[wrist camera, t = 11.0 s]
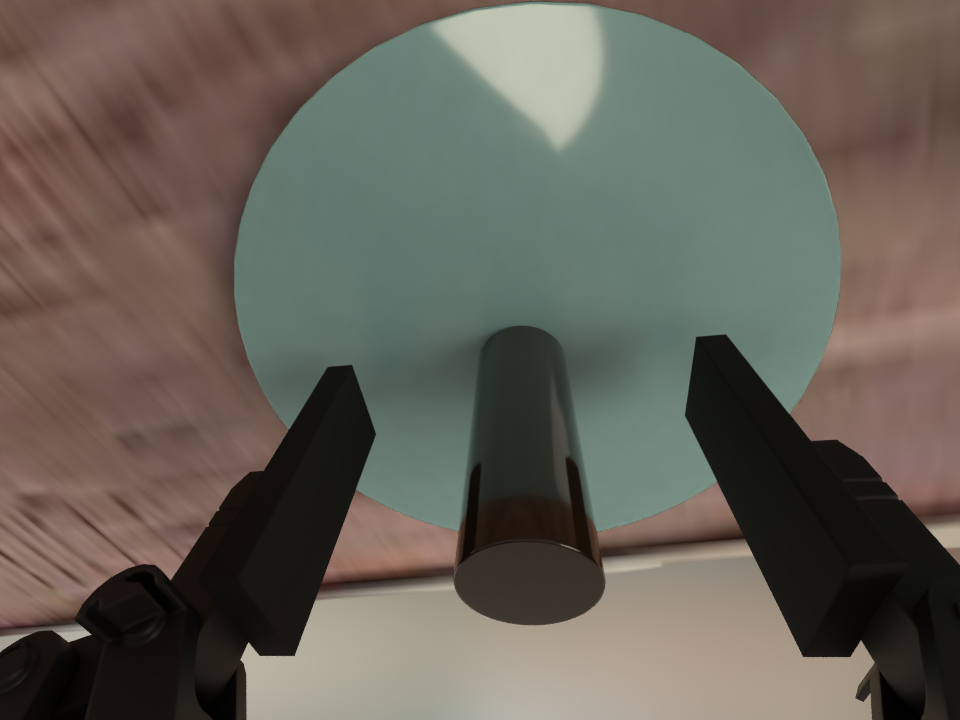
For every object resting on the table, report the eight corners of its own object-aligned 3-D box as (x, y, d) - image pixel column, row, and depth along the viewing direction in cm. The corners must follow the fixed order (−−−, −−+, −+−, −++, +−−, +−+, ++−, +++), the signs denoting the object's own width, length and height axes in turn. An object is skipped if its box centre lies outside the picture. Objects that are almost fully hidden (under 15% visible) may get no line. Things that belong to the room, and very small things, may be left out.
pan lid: (448, 559, 23) (418, 789, 15) (130, 253, 14) (-245, 438, 7) (863, 425, 16) (1135, 704, 9) (716, -231, 8) (1924, -1987, 1)
